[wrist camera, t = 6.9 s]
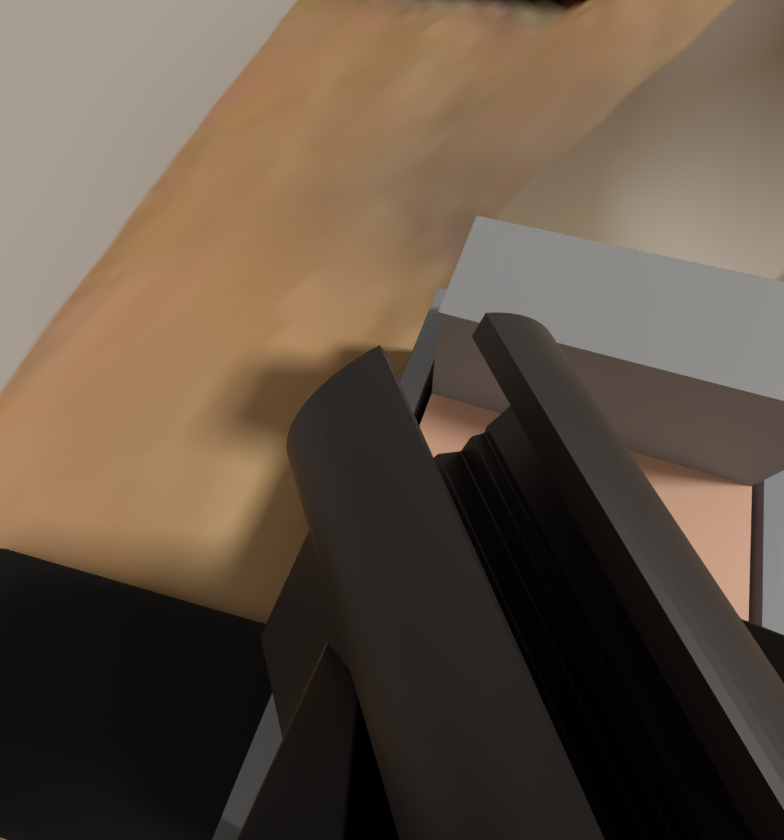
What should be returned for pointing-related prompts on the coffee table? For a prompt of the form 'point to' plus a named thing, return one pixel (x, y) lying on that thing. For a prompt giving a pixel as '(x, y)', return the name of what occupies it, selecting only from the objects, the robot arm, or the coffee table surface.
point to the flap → (633, 369)
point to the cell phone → (119, 707)
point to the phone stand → (521, 618)
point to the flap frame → (771, 498)
